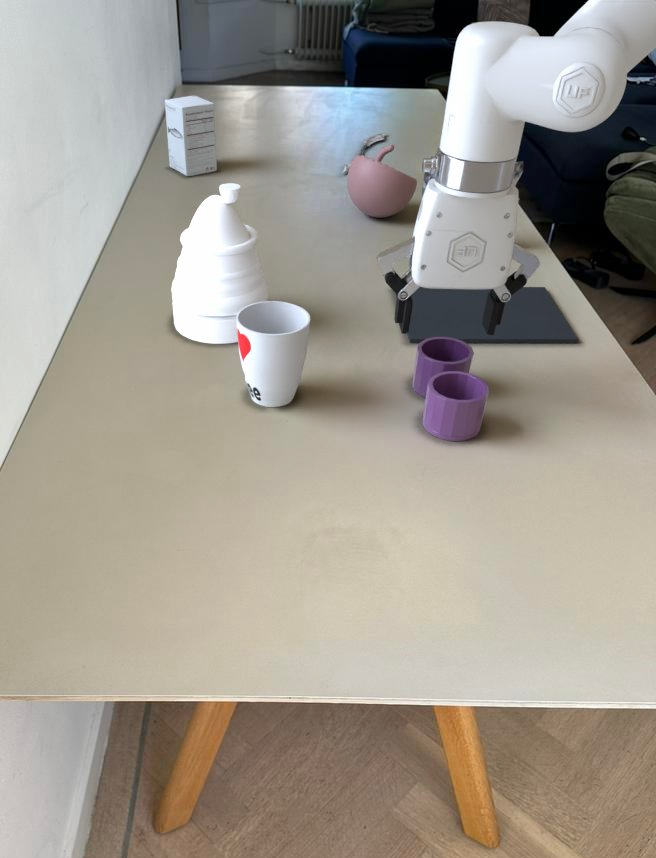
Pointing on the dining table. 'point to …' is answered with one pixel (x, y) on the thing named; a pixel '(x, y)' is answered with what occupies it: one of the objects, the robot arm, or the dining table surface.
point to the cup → (272, 350)
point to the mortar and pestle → (379, 185)
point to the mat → (463, 312)
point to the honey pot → (216, 271)
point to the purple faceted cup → (454, 405)
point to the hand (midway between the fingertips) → (445, 328)
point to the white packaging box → (191, 135)
